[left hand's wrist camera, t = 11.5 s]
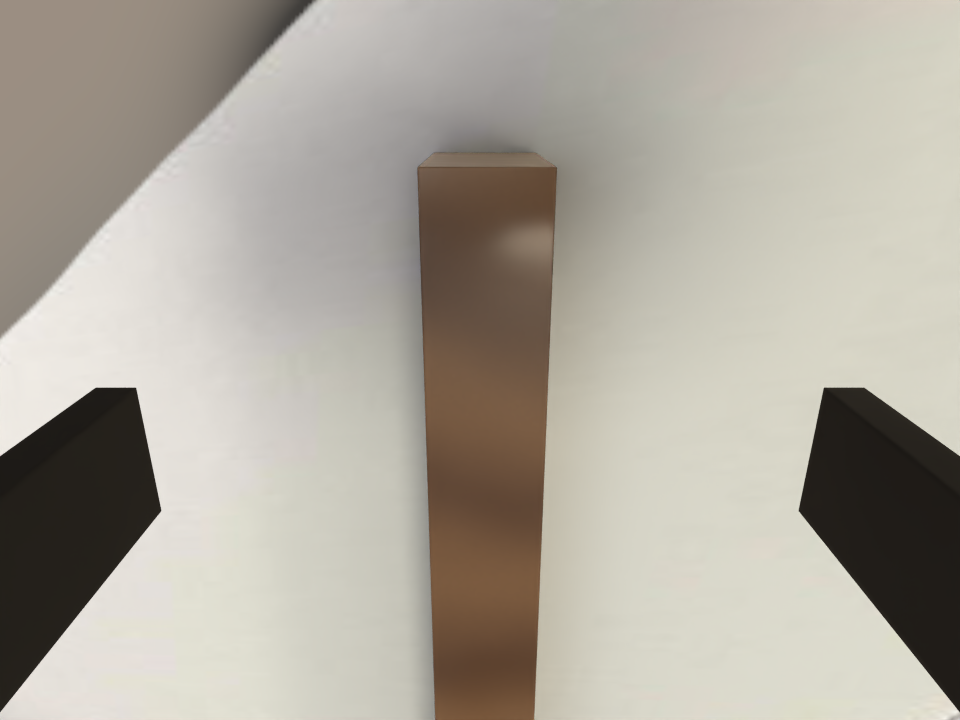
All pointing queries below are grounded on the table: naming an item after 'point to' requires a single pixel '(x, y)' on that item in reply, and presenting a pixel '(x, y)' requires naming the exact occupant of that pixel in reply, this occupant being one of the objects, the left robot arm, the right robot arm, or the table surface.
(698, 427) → the table surface
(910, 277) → the table surface
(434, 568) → the bar
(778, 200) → the table surface
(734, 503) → the table surface
